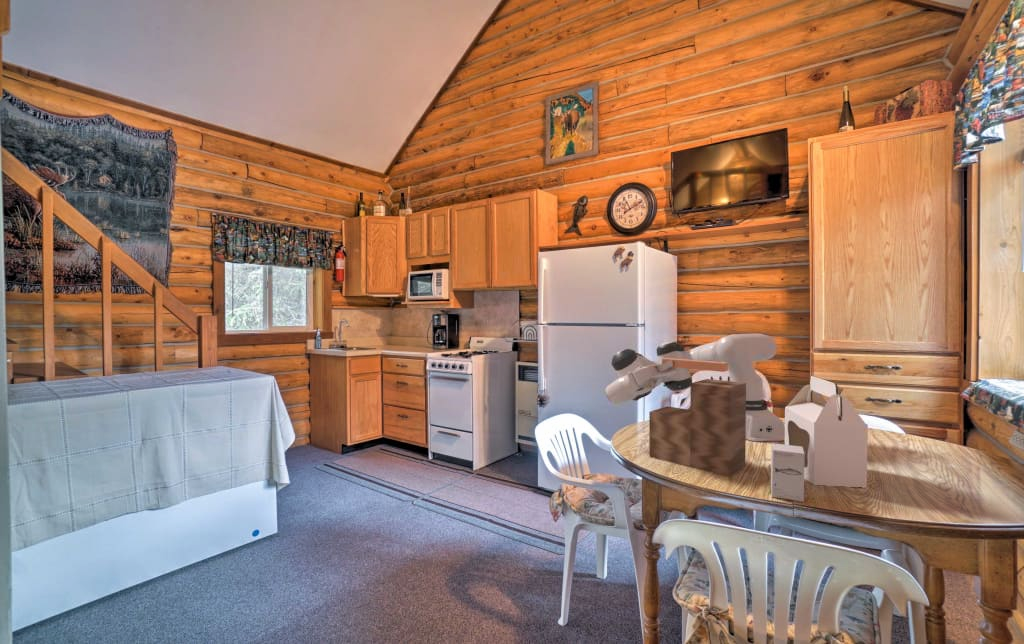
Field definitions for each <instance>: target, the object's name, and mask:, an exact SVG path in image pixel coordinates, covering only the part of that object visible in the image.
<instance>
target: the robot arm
mask: <svg viewBox="0 0 1024 644" xmlns="http://www.w3.org/2000/svg"><path fill="white" fill-rule="evenodd" d="M685 348H687V346H685V345H682V344H681V343H679V342H678V341H664V342H663V343H661V344H659V345H658V346H657V347H656V356H657V358H658V361H655V360H650V359H649V358H647V357H645V356H644V355H643V354H642V353H638V352H636V350H634V349H632V348H626V349H622V350H619V351H618V352H616V353H615V354H614V355H613V356H612V358H611V366H612V368H613V369H614V371H615V372H616V374H617V375H618V378H617V379H615V380H613V381H612V382H611V383H610V384H608V385H607V386H606V387H605V395H606V398H607V399H608V400H609V402H610V403H611V404H612V405H613V406H619V405H622V404H626V403H628V402H630V401H635V402H636V401H638V400H640V399H642V398H645V397H647V396H648V395H650V394H652V391H653V390H654V389H655V388H657V387H658V386H660V385H661V384H662V383H663V385H662V386H663V387H666V388H667V389H668V390H669V391H672V392H678V393H679V392H685V391H687V390H688V389H689V388H691V383H693V377H692V376H691V371H690V369H686V368H675V367H672V366H674V365H675V363H674V361H673V360H671V361H668V362H666V363H664V364H662V359H664V358H674V359H687V360H701V361H714V362H727V363H728V371H727V372H728V375H729V381H732V382H742V383H746V440H748V441H751V442H775V441H780V442H782V441H785V422H783V420H782V419H781V418H780V417H778V415H776V414H775V413H773V412H772V411H771V410H769V409H768V408H772V407H773V406H774V403H773V402H771V401H770V400H769V401H768V400H765V399H764V398H763V391H764V390H763V386H764V385H763V383H764V382H763V378H762V377H761V375H759V374H757V372H756V369H755V367H754V363H761V362H765V361H767V360H770V359H772V358H773V357H775V355H776V354H777V351H778V345H777V342H776V340H775V339H774V338H773V337H772V336H770V335H767V334H763V333H737V334H735V333H732V334H729V335H726V336H724V337H720V338H719V339H718V340H715V341H711V342H709V343H705V344H702V345H701V344H700V345H699V346H696V347H694V348H692V349H689V350H686V349H685ZM691 370H692V371H695V372H706V371H708V370H697V369H691Z"/></svg>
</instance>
